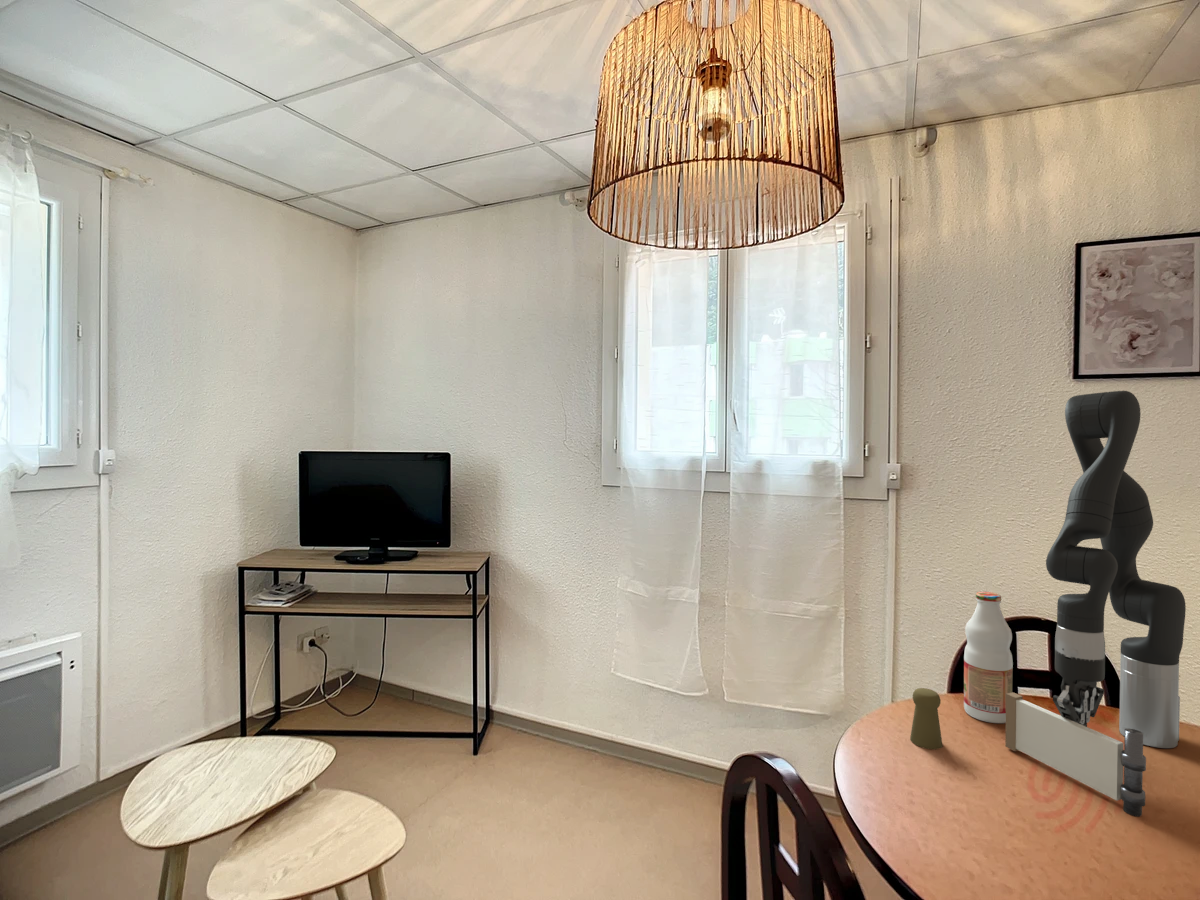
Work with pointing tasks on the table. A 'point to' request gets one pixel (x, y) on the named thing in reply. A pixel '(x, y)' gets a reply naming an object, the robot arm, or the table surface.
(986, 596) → the fruit juice
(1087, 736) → the gate
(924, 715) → the olive green pawn
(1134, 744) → the gate post
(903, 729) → the table surface
